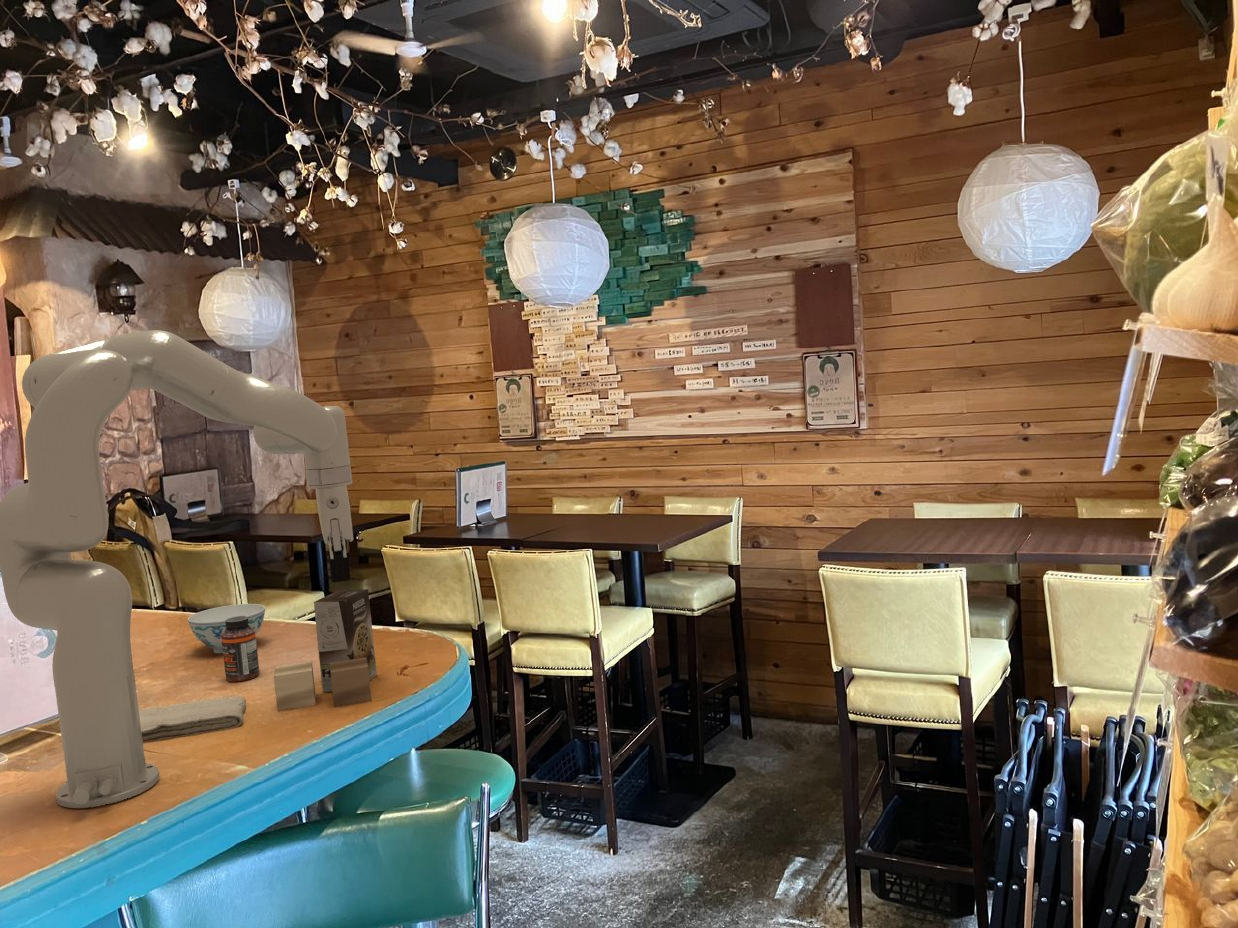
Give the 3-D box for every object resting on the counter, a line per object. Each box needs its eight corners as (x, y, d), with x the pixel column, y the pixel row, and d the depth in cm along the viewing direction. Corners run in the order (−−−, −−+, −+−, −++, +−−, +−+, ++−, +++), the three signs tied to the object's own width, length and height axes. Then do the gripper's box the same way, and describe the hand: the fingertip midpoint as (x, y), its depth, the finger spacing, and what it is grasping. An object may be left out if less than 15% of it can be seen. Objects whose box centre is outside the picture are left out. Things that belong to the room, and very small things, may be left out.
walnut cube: (371, 701, 164) (368, 666, 163) (334, 707, 162) (330, 672, 161) (369, 691, 169) (366, 657, 169) (333, 696, 168) (330, 662, 167)
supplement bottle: (218, 681, 182) (211, 621, 181) (244, 671, 187) (237, 613, 186) (241, 683, 179) (234, 623, 178) (266, 673, 184) (260, 614, 183)
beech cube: (315, 705, 164) (311, 670, 163) (277, 711, 162) (273, 676, 162) (315, 694, 170) (311, 660, 169) (279, 700, 168) (275, 666, 167)
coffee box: (355, 692, 169) (346, 600, 168) (321, 692, 170) (311, 601, 169) (378, 675, 178) (369, 588, 176) (346, 675, 179) (336, 589, 178)
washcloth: (133, 724, 162) (130, 706, 162) (248, 706, 167) (246, 689, 167) (119, 750, 151) (116, 730, 150) (243, 729, 156) (241, 710, 156)
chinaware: (192, 647, 209) (188, 611, 208) (266, 634, 215) (262, 600, 214) (191, 664, 195) (187, 626, 194) (271, 650, 201) (267, 613, 200)
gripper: (353, 478, 165) (365, 585, 167) (350, 471, 179) (361, 569, 181) (306, 484, 163) (319, 592, 165) (307, 476, 177) (318, 575, 179)
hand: (341, 580), depth 173 cm, fingers closed
